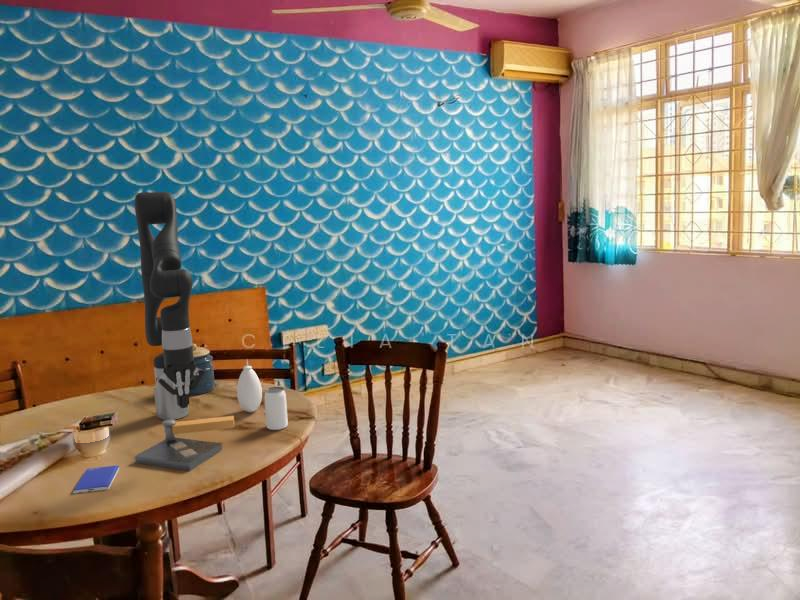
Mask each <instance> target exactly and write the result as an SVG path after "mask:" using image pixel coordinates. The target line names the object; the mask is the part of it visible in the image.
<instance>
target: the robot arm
mask: <svg viewBox="0 0 800 600" xmlns="http://www.w3.org/2000/svg"><path fill="white" fill-rule="evenodd" d="M134 212H135V218H136V226H137V232H138V240H139V251H140V270H141V271H140V272H141V282H142V288H143V290H142V291H143V298H144V332H145V338H146V342H147V344H148V345H149V346H151V347H160V346H161V347H162V352H161V353H159V354H158V355H156V356H155V357H154V358H153V371H154V379H155V386H156V387H155V388H154V389H153V392H154V393H153V394H154V402H155V411H156V417H157V418H159V419H160V420H163V421H165V420H170V419H173V420H178V419H181V418H184V417H187V416H188V415H189V413H190V411H189V410H190V409H189V405H190V397H189V396H190V395H189V392H190V391H192V390H195V388H196V387H197V385H198V383H199V382H200V380H201V378H202V376H203V375H204V373H205V372H204V371H203V370H201V369H198V368H197V367H196V364H195V363H194V355H193V344H194V343H193V336H192V331H191V327H190V326H191V325H190V324H191V323H190V314H189V312H190V311H189V310H190V309H189V308H190V307H189V306H190V300H191V295H192V289H193V285H194V283H193V282H194V281H193V280H194V278H193V275H192V274H191V272H190V271H188V270H187V269H184V268H183V269H182V258H181V252H180V247H179V240H178V239H179V236H178V234H179V232H178V231H179V227H178V212H177V203H176V200H175V196H174V195H173V194H172V193H171V192H168V191H151V192H149V191H147V192H146V191H143V192H138V193H137V194H136V195H135V198H134ZM150 225H164V226H163V227H162V229H161V230H160V231H159V232H158V233H157V235H156V236H154V234H153V233H152V231H151V229H150ZM176 297H177V298H178V297H179V299H178V300H177V302H175V303H173V304H170V305H167V306H164V307H162V308H161V310H160V316H157V315H158V311H159V308H160V307H161V304H163V302H164V300H165V299H167V298H176ZM193 373H194V376H193V378H192V379H191V381H190V378H191V377H192V375H193Z"/></svg>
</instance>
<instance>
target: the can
mask: <svg viewBox="0 0 800 600" xmlns="http://www.w3.org/2000/svg"><path fill="white" fill-rule="evenodd" d="M264 391H265V392H264V409H265V423H266V428H267V429H268V430H270V431H281V430H284V429H286V428H287V426H288V425H289V423H288V422H289V421H288V405H287V394H286V391H285V388H284V387H282V386H271V387H267V388H266V389H265V390H264Z"/></svg>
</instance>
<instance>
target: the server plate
mask: <svg viewBox="0 0 800 600" xmlns="http://www.w3.org/2000/svg"><path fill="white" fill-rule="evenodd" d="M221 451H223V447H222V443H221V442H213V441H207V440H206V441H205V440H199V439H189V438H183V437H175V439H174V440H172V441H166V438H165V439H163V440H161V441H159V442H158V443H156V444H154V445H152V446H151V447H149V448H147V449H146V450H143V451H142V452H140V453H137V454H136V455H135V456H134V458H135V463H136V464H141V465H147V466H148V465H149V466H155V467H160V468H161V467H162V468H168V469H169V468H170V469H175V470H184V471H190V472H191V471H192V470H194V469H195V468H197V467H198V466H199V465H201V464H203V463H204V462H206V461H208V460H209V459H211V458H212V457H213V456H215V455H217V454H218V453H220V452H221Z"/></svg>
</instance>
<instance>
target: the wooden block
mask: <svg viewBox="0 0 800 600" xmlns="http://www.w3.org/2000/svg"><path fill="white" fill-rule="evenodd" d="M161 426H163V427H164V435H165V439H166V441H172V440H174V439H175V438H176V435H179V434H180V435H182V434H189V433H196V432H198V433H199V432H207V431H209V432H210V431H216V430H223V429H224V430H225V429H227V430H228V429H235V416H234V415H228V416H220V417H219V416H218V417H211V418H210V417H209V418H200V419H199V418H198V419H192V420H191V419H190V420H182V421H176V419H170V420H163V421H161Z"/></svg>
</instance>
